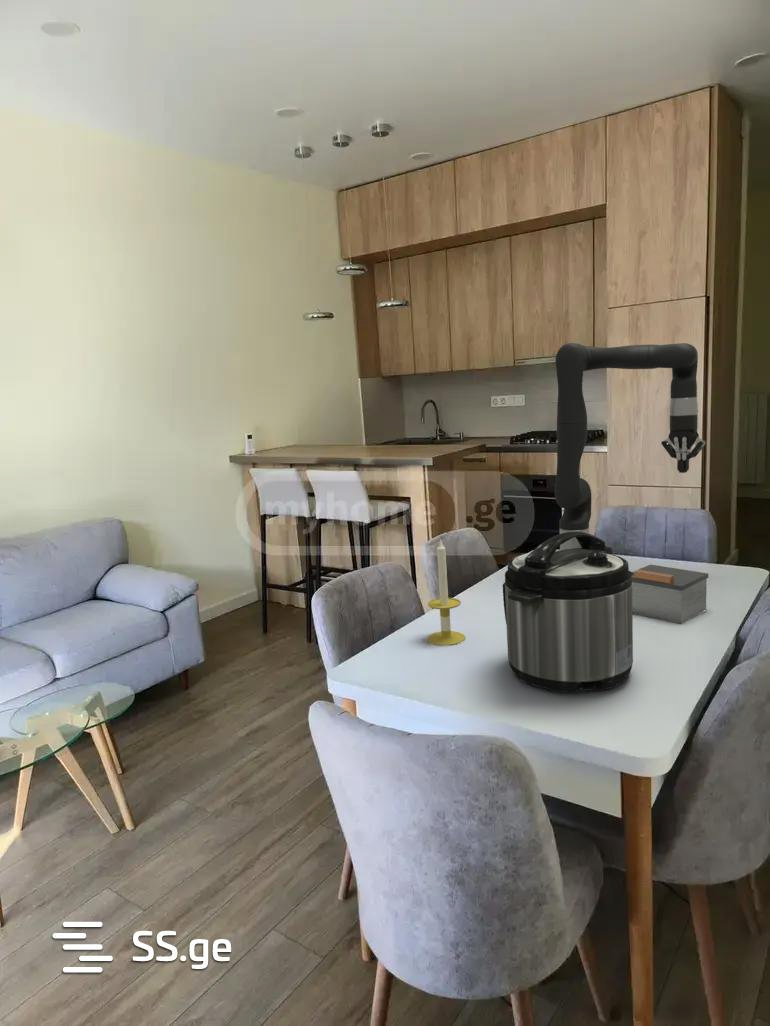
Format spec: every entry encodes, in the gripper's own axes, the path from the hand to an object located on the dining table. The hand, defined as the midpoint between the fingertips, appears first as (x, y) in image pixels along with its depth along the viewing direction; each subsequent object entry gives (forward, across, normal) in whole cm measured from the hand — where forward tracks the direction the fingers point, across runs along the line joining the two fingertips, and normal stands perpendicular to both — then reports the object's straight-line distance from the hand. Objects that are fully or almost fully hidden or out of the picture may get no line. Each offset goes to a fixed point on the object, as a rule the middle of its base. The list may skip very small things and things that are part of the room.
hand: (683, 472), depth 199 cm
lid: (+26, +7, -24) cm, 36 cm away
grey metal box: (+35, +7, -24) cm, 43 cm away
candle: (+35, -25, -77) cm, 88 cm away
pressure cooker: (+35, +10, -74) cm, 83 cm away
